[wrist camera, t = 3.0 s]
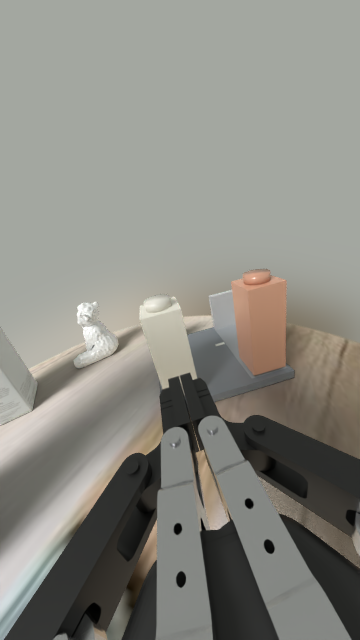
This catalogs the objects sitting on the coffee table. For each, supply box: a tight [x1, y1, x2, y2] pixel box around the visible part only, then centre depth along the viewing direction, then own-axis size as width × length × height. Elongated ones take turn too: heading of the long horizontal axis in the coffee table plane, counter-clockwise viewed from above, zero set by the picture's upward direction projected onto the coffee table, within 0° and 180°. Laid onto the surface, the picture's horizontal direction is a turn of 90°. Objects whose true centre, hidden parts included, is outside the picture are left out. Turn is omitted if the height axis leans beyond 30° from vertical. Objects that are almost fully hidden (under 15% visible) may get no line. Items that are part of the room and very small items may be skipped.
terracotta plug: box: [231, 269, 286, 376], centre depth 26 cm, size 4×4×13 cm
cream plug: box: [139, 294, 197, 395], centre depth 25 cm, size 4×4×13 cm
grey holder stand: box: [159, 290, 294, 403], centre depth 33 cm, size 18×17×8 cm
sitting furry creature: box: [74, 302, 119, 369], centre depth 42 cm, size 10×9×12 cm
